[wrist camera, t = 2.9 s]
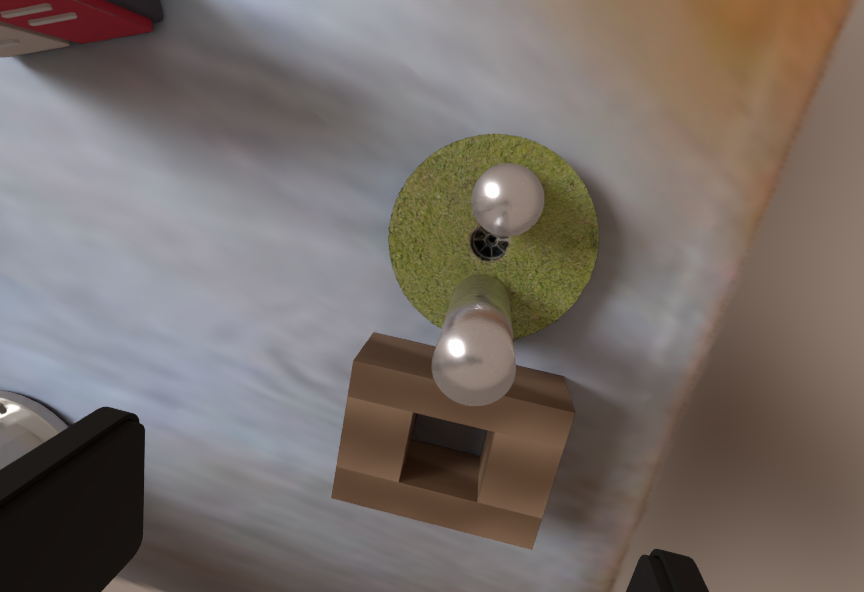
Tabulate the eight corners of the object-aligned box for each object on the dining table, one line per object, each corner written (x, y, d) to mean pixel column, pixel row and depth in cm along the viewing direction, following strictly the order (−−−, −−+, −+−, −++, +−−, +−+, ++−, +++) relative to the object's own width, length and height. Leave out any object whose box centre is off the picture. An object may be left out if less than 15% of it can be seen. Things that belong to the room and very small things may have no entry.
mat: (619, 161, 26) (629, 160, 24) (559, 350, 29) (563, 363, 28) (416, 115, 27) (410, 112, 25) (379, 305, 30) (371, 315, 28)
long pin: (502, 335, 28) (504, 414, 19) (446, 322, 28) (424, 395, 19) (515, 281, 27) (525, 339, 18) (458, 268, 27) (440, 320, 18)
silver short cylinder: (528, 231, 26) (533, 243, 22) (469, 218, 26) (464, 228, 22) (544, 169, 25) (552, 171, 21) (482, 157, 25) (480, 156, 21)
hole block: (527, 497, 32) (532, 549, 28) (352, 454, 33) (331, 498, 29) (563, 376, 30) (575, 412, 25) (373, 332, 31) (353, 360, 26)
